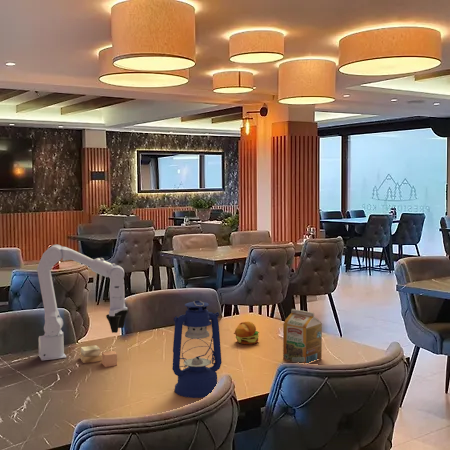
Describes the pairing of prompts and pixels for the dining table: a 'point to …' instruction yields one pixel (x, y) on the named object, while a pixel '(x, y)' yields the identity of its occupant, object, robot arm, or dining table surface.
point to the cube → (109, 358)
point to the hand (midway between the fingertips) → (117, 330)
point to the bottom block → (90, 358)
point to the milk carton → (302, 337)
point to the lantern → (196, 367)
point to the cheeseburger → (246, 333)
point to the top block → (90, 351)
